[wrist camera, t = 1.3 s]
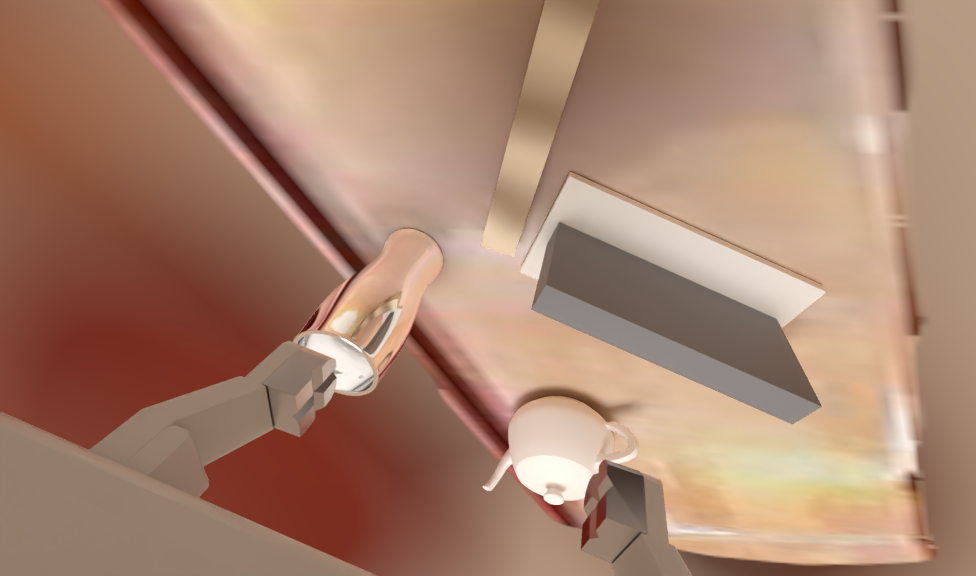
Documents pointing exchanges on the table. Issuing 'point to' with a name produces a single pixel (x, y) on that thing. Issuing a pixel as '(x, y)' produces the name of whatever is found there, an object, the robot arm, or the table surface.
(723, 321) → the stand
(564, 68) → the birch bar
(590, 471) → the teapot
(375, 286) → the beer glass
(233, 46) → the table surface
